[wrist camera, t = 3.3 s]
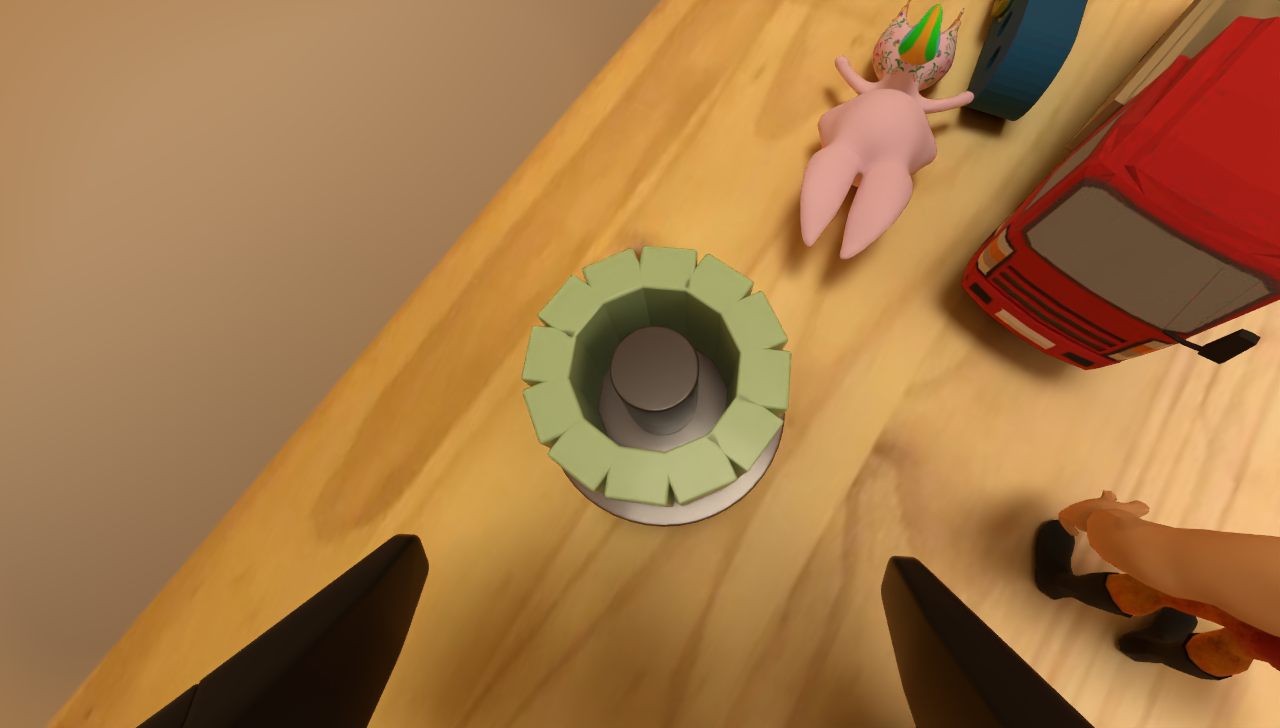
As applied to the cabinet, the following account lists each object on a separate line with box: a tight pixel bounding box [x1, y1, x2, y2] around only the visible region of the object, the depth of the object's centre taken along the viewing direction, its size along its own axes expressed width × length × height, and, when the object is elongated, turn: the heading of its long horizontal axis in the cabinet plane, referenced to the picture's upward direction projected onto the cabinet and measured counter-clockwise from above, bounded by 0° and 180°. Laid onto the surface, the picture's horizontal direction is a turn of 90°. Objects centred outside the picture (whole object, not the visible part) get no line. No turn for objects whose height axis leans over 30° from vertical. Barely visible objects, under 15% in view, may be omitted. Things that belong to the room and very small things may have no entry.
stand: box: [561, 326, 785, 527], centre depth 16 cm, size 8×8×9 cm
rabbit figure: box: [800, 0, 974, 260], centre depth 21 cm, size 6×6×15 cm
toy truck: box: [962, 0, 1280, 370], centre depth 17 cm, size 7×21×10 cm, turn 136°
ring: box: [522, 246, 791, 507], centre depth 14 cm, size 6×6×4 cm
